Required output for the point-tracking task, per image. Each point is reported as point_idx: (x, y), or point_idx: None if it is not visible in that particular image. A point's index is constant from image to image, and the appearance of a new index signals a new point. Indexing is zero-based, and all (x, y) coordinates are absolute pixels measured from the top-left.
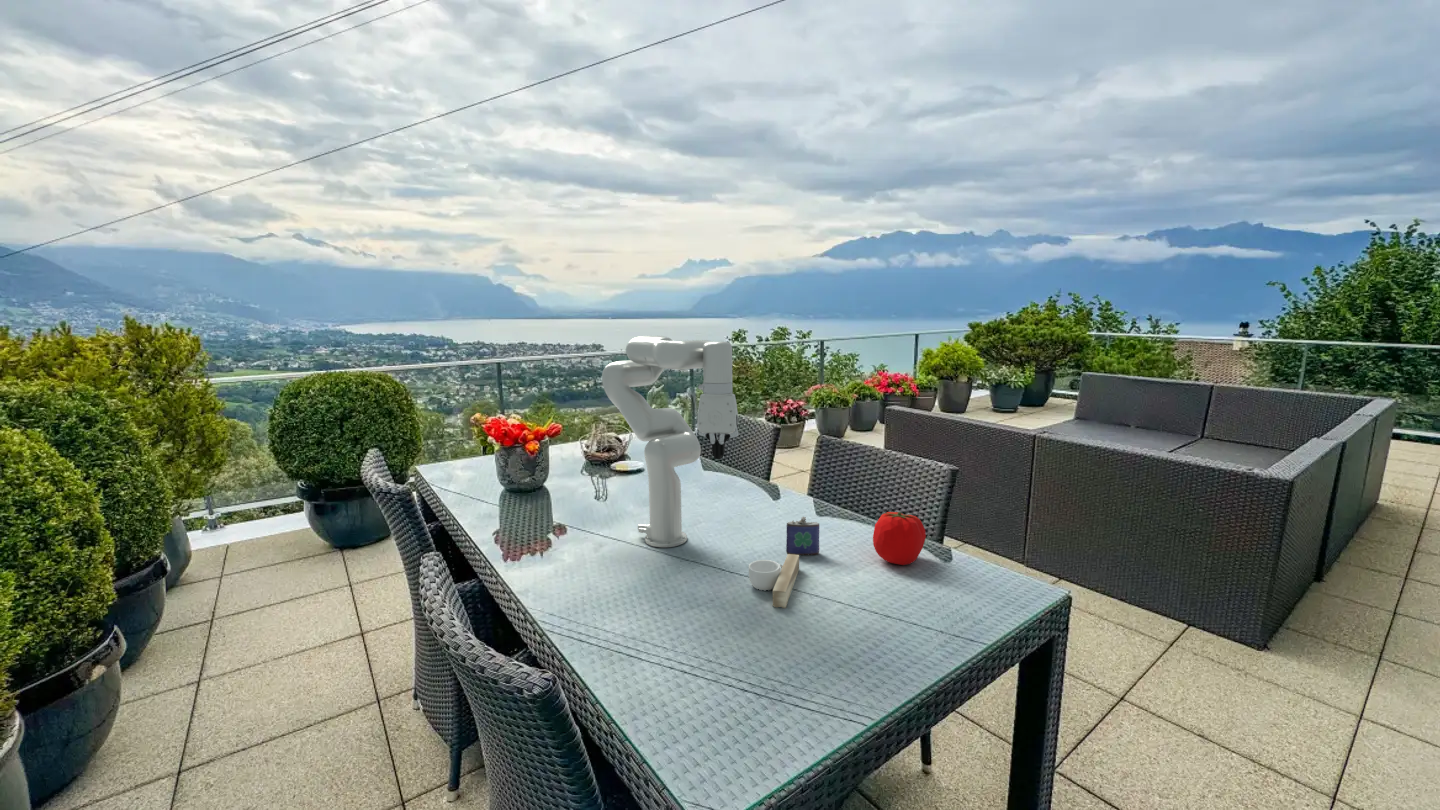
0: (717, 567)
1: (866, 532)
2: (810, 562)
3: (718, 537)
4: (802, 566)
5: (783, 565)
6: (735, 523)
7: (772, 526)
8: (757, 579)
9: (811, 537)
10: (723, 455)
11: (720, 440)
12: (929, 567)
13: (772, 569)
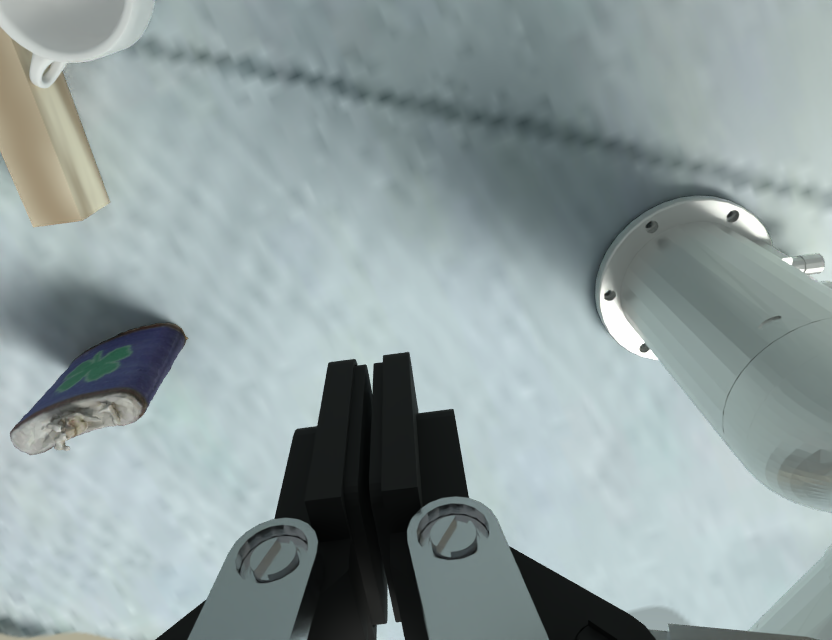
0: (373, 100)
1: (30, 578)
2: (63, 287)
3: (487, 376)
4: (70, 241)
5: (25, 83)
6: None
7: None
8: None
9: (59, 385)
10: (300, 432)
11: (286, 581)
12: None
13: (65, 43)
